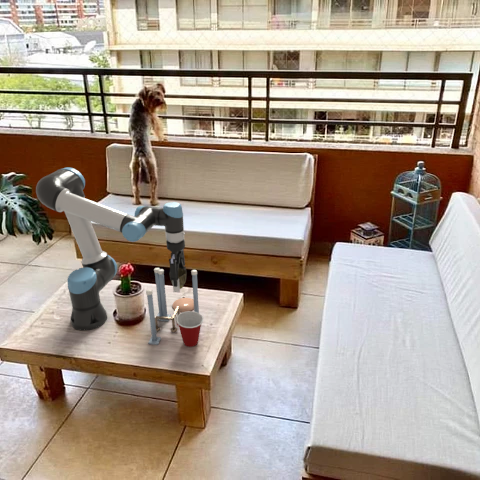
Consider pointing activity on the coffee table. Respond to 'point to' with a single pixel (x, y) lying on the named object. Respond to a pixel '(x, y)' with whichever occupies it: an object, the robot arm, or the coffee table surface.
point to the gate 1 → (149, 292)
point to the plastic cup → (189, 327)
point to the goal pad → (184, 304)
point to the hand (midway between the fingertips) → (179, 287)
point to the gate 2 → (195, 291)
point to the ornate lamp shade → (181, 277)
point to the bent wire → (168, 319)
